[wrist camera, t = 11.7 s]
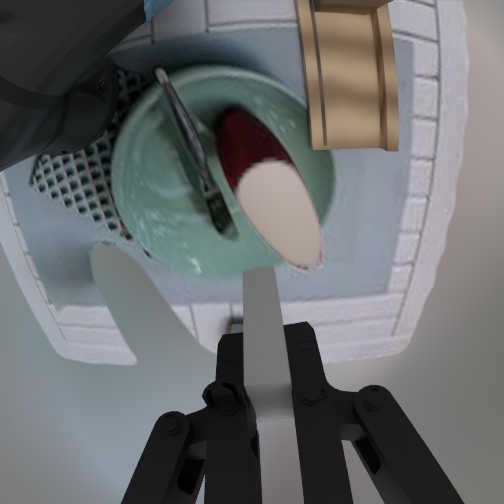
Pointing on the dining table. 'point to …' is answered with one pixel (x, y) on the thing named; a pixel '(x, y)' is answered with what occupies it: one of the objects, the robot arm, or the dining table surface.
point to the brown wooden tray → (349, 78)
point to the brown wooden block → (348, 6)
